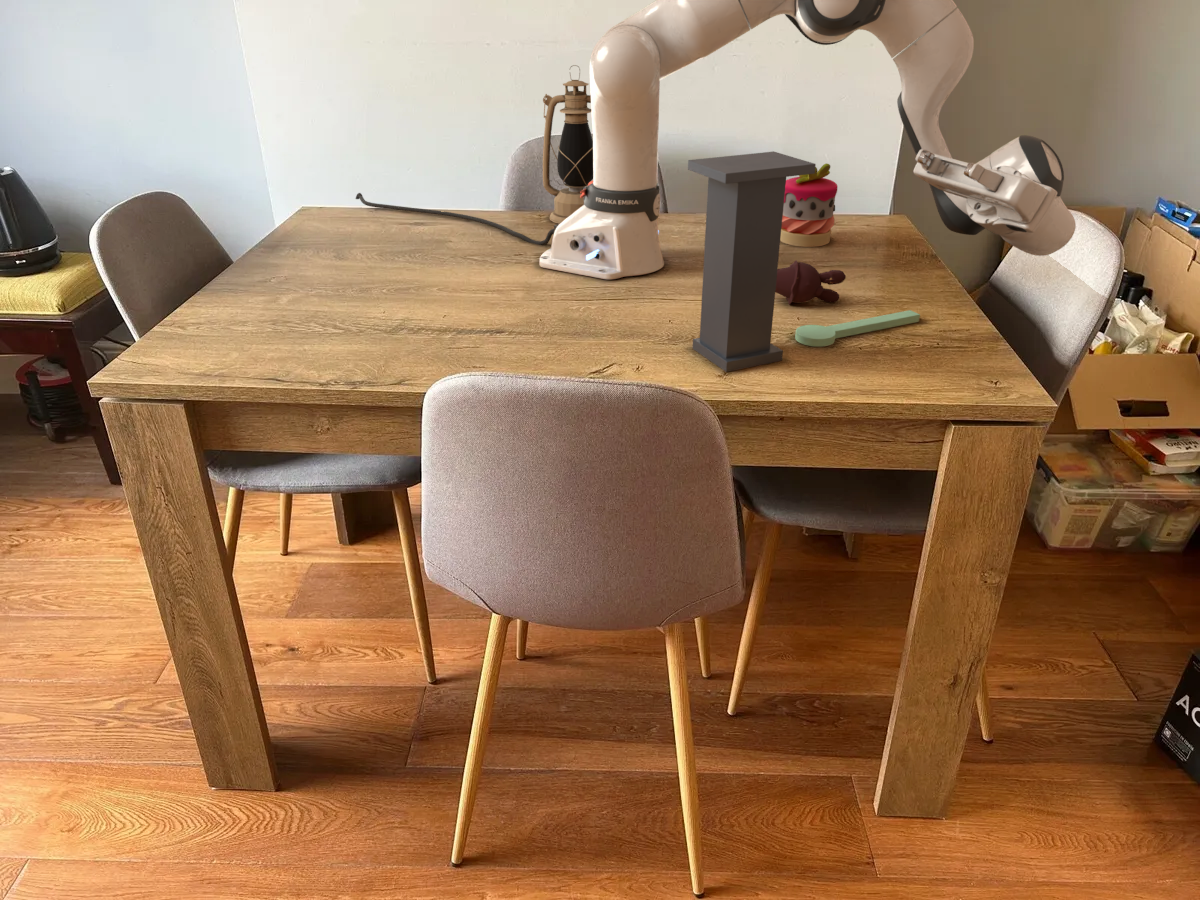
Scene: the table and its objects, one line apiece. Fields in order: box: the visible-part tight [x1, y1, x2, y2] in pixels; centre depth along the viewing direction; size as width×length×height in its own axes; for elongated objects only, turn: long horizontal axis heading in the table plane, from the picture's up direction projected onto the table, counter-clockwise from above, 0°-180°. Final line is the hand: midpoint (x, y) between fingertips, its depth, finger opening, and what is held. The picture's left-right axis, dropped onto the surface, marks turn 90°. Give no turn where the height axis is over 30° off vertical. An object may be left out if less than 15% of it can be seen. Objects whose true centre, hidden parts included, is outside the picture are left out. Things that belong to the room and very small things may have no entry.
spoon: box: [794, 309, 921, 348], centre depth 130 cm, size 21×6×1 cm, turn 115°
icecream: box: [775, 259, 847, 305], centre depth 140 cm, size 7×7×15 cm
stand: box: [687, 150, 817, 373], centre depth 116 cm, size 13×9×26 cm
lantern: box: [542, 64, 593, 224], centre depth 181 cm, size 14×12×30 cm
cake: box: [780, 162, 839, 248], centre depth 169 cm, size 10×11×15 cm
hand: (944, 161), depth 123 cm, fingers open, 8 cm apart
